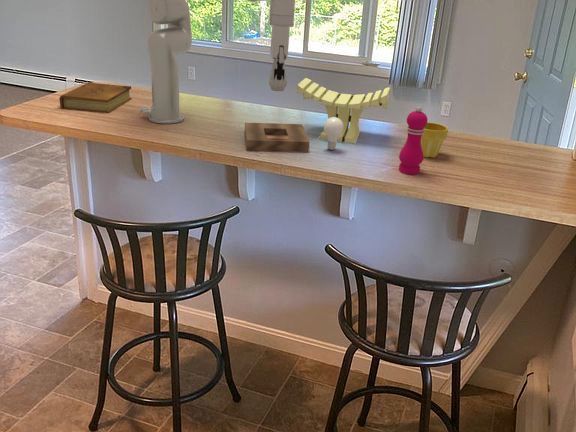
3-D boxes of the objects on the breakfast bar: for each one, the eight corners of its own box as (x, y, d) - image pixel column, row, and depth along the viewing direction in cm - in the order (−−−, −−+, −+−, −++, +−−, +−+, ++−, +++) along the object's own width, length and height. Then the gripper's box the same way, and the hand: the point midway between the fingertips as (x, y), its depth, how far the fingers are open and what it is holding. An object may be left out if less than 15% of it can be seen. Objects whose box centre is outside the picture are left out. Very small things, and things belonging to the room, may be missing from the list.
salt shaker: (287, 88, 188) (290, 48, 183) (285, 92, 183) (288, 50, 178) (269, 87, 189) (271, 46, 183) (267, 91, 184) (269, 49, 178)
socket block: (246, 150, 183) (246, 139, 182) (244, 132, 201) (244, 121, 200) (308, 152, 185) (309, 141, 184) (301, 133, 203) (301, 123, 202)
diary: (87, 96, 235) (86, 82, 232) (131, 100, 233) (131, 86, 231) (60, 110, 214) (58, 94, 212) (108, 114, 212) (107, 99, 210)
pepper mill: (394, 166, 178) (403, 102, 170) (417, 167, 179) (427, 103, 170) (400, 174, 172) (410, 109, 163) (423, 175, 172) (435, 110, 164)
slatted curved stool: (384, 134, 209) (390, 85, 202) (379, 147, 195) (386, 95, 188) (303, 124, 215) (307, 76, 207) (294, 135, 201) (297, 84, 193)
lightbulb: (343, 148, 191) (346, 116, 186) (338, 154, 185) (341, 121, 181) (324, 145, 193) (327, 113, 188) (319, 151, 187) (322, 118, 183)
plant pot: (442, 151, 195) (447, 123, 191) (444, 161, 186) (449, 132, 182) (411, 148, 196) (415, 120, 192) (411, 157, 187) (416, 128, 183)
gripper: (267, 16, 184) (264, 74, 192) (271, 23, 169) (268, 85, 177) (290, 18, 185) (287, 75, 192) (296, 24, 170) (292, 86, 178)
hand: (278, 80), depth 185 cm, fingers closed on salt shaker, 3 cm apart
